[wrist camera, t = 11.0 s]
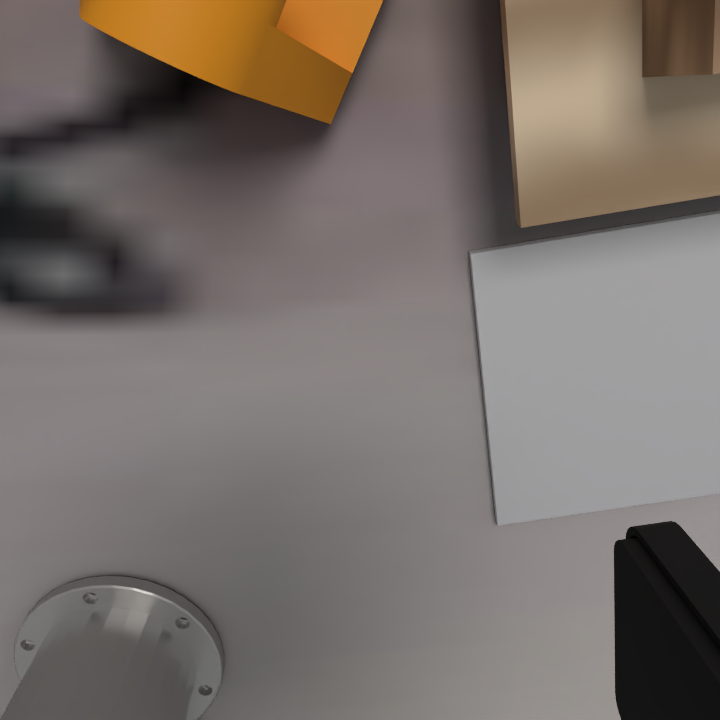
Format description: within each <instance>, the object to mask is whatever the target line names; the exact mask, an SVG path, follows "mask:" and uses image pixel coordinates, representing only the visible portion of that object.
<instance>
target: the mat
mask: <svg viewBox="0 0 720 720" xmlns="http://www.w3.org/2000/svg"><path fill="white" fill-rule="evenodd" d="M469 260H470V270H471V279H472V289H473V299H474V309H475V319H476V329H477V339H478V349H479V359H480V369H481V379H482V389H483V399H484V409H485V419H486V429H487V438H488V448H489V458H490V468H491V478H492V488H493V498H494V508H495V518H496V522H497V525H498V526H499V525H506V524H513V523H520V522H527V521H533V520H540V519H547V518H554V517H561V516H568V515H575V514H582V513H589V512H596V511H602V510H609V509H616V508H623V507H630V506H637V505H644V504H651V503H658V502H665V501H671V500H678V499H685V498H692V497H699V496H706V495H713V494H720V210H719V211H712V212H706V213H700V214H694V215H688V216H682V217H675V218H669V219H663V220H657V221H651V222H645V223H639V224H632V225H626V226H620V227H614V228H608V229H602V230H596V231H589V232H583V233H577V234H571V235H565V236H559V237H553V238H546V239H540V240H534V241H528V242H522V243H516V244H509V245H503V246H497V247H491V248H485V249H479V250H473V251H469Z"/></svg>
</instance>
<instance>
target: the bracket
mask: <svg viewBox="0 0 720 720" xmlns="http://www.w3.org/2000/svg"><path fill="white" fill-rule="evenodd" d="M382 2H383V0H80V14H79V16H80V18H81V19H83V20H84V21H86V22H87V23H89V24H90V25H92V26H94V27H96V28H97V29H99V30H101V31H103V32H105V33H106V34H108V35H110V36H112V37H114V38H116V39H118V40H120V41H122V42H124V43H126V44H128V45H130V46H132V47H134V48H136V49H138V50H140V51H142V52H144V53H146V54H148V55H150V56H152V57H154V58H156V59H158V60H161V61H163V62H165V63H167V64H169V65H171V66H174V67H176V68H178V69H180V70H182V71H185V72H187V73H189V74H191V75H193V76H196V77H198V78H200V79H203V80H205V81H207V82H210V83H212V84H214V85H217V86H219V87H222V88H224V89H227V90H230V91H232V92H235V93H238V94H241V95H244V96H247V97H250V98H253V99H256V100H259V101H262V102H265V103H268V104H271V105H274V106H277V107H280V108H283V109H286V110H289V111H292V112H295V113H298V114H301V115H304V116H307V117H310V118H313V119H316V120H319V121H322V122H325V123H328V124H331V122H332V120H333V118H334V115H335V113H336V111H337V108H338V106H339V104H340V101H341V99H342V97H343V94H344V92H345V90H346V87H347V85H348V82H349V80H350V78H351V75H352V73H353V71H354V68H355V66H356V64H357V61H358V59H359V57H360V54H361V52H362V49H363V47H364V45H365V42H366V40H367V38H368V35H369V33H370V31H371V28H372V26H373V24H374V21H375V19H376V17H377V14H378V12H379V9H380V7H381V5H382Z"/></svg>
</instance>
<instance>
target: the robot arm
mask: <svg viewBox="0 0 720 720" xmlns="http://www.w3.org/2000/svg"><path fill="white" fill-rule="evenodd" d="M614 599H615V694H616V702H617V707H618V711H619V714H620V717H621V720H720V572H719V571H718V569H717V568H716V567H715V566H714V565H713V564H712V562H711V561H710V560H709V559H708V558H707V557H706V556H705V554H704V553H703V552H702V551H701V550H700V549H699V547H698V546H697V545H696V544H695V543H694V542H693V540H692V539H691V538H690V537H689V536H688V535H687V534H686V532H685V531H684V530H683V529H682V528H681V527H680V526H679V525H678V524H677V523H676V522H672V521H669V522H662V523H655V524H648V525H641V526H634V527H630V528H629V529H628V530H627V533H626V539H623V540H618V541H616V542H615V545H614ZM14 662H15V667H16V671H17V675H18V677H19V679H20V681H21V682H20V684H19V686H18V688H17V689H16V691H15V693H14V695H13V697H12V698H11V700H10V702H9V704H8V706H7V708H6V709H5V711H4V713H3V715H2V717H1V718H0V720H196V719H198V718H199V717H200V716H201V715H202V714H203V713H204V712H205V711H206V710H207V709H208V708H209V707H210V705H211V703H212V702H213V700H214V699H215V697H216V696H217V693H218V690H219V687H220V684H221V679H222V674H223V668H224V655H223V648H222V645H221V642H220V638H219V635H218V634H217V632H216V630H215V629H214V627H213V625H212V623H211V622H210V621H209V619H208V618H207V617H206V616H205V615H204V614H203V613H202V612H201V611H200V609H199V608H197V607H196V606H195V605H194V604H192V603H191V602H190V601H188V600H187V599H186V598H185V597H183V596H181V595H179V594H177V593H176V592H174V591H172V590H170V589H168V588H166V587H163V586H161V585H158V584H155V583H152V582H150V581H146V580H141V579H136V578H131V577H122V576H100V577H90V578H85V579H81V580H77V581H74V582H70V583H67V584H65V585H63V586H61V587H59V588H57V589H55V590H53V591H51V592H50V593H49V594H47V595H46V596H45V597H43V598H42V599H41V600H39V601H38V603H37V604H36V605H35V606H34V607H33V609H32V610H31V611H30V612H29V613H28V615H27V617H26V619H25V620H24V622H23V624H22V626H21V627H20V629H19V631H18V634H17V637H16V640H15V644H14Z"/></svg>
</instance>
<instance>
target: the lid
mask: <svg viewBox="0 0 720 720" xmlns="http://www.w3.org/2000/svg"><path fill="white" fill-rule="evenodd" d="M500 9H501V23H502V37H503V50H504V64H505V78H506V91H507V105H508V119H509V133H510V146H511V160H512V174H513V187H514V201H515V215H516V224H517V225H518V226H519V227H520V228H524V227H530V226H536V225H542V224H548V223H554V222H560V221H566V220H572V219H578V218H584V217H590V216H597V215H603V214H609V213H615V212H621V211H627V210H633V209H639V208H645V207H651V206H657V205H663V204H669V203H675V202H682V201H688V200H694V199H700V198H706V197H712V196H718V195H720V0H500Z"/></svg>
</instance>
